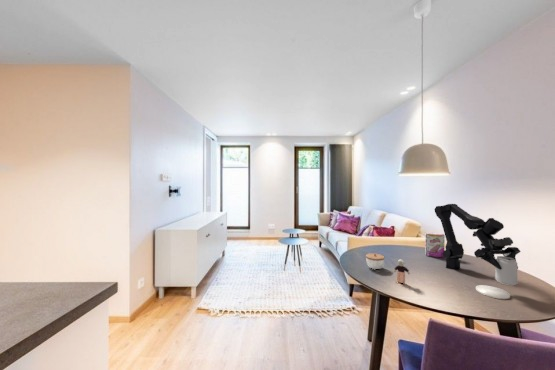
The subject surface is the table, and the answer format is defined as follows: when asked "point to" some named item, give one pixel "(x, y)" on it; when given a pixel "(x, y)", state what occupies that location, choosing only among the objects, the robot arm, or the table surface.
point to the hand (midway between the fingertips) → (508, 269)
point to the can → (506, 271)
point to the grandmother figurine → (401, 271)
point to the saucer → (493, 292)
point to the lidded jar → (375, 261)
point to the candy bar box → (434, 244)
